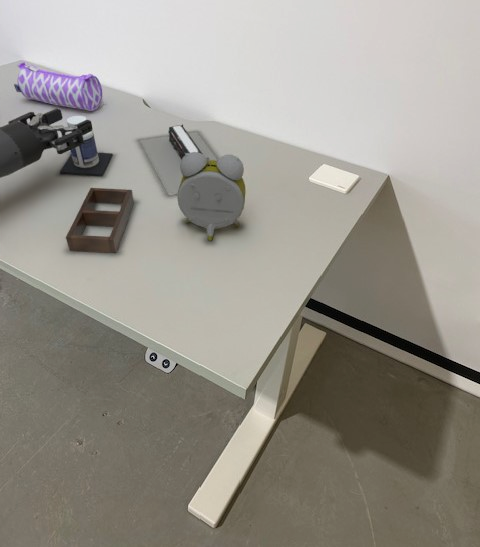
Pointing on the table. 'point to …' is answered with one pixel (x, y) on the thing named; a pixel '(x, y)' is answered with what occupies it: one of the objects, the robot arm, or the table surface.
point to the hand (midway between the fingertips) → (75, 118)
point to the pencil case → (59, 88)
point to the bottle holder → (100, 220)
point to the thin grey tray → (173, 154)
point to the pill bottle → (84, 146)
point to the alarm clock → (211, 191)
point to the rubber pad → (96, 170)
